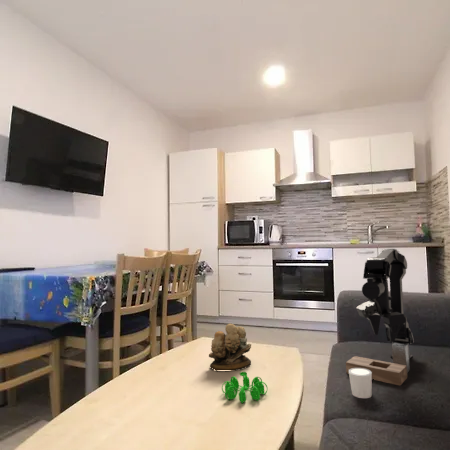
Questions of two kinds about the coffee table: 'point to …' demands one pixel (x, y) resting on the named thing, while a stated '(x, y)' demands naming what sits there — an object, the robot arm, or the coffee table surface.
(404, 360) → the bracket
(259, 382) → the chandelier
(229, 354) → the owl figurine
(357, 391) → the white cylinder
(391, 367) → the post board
